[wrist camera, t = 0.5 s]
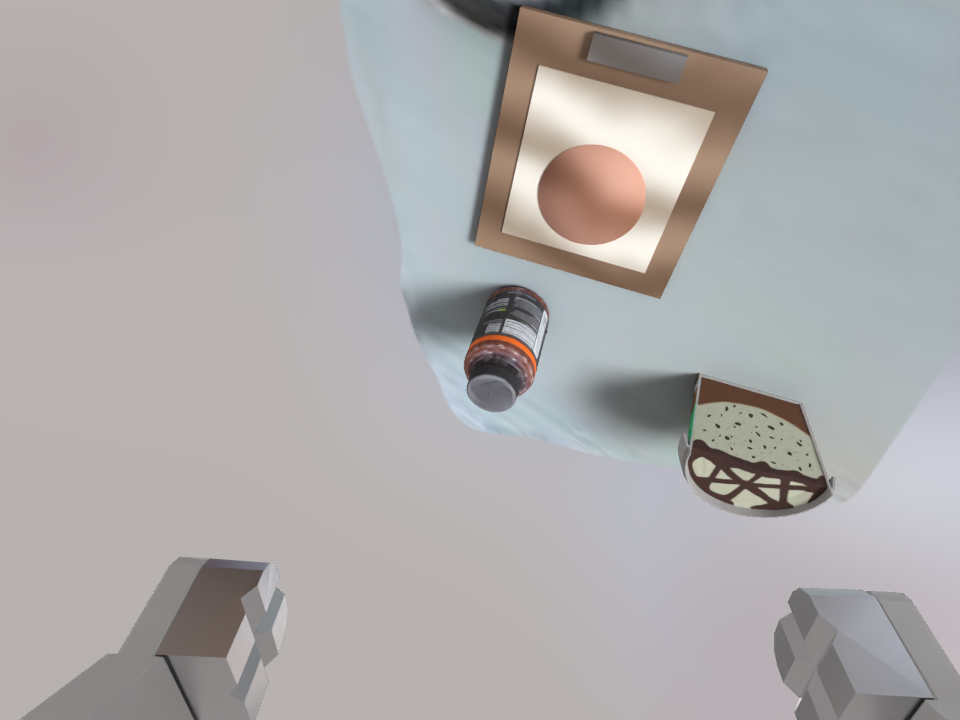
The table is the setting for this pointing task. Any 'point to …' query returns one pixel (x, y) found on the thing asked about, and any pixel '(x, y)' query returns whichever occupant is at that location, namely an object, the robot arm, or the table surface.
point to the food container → (752, 452)
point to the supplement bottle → (506, 348)
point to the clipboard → (608, 148)
